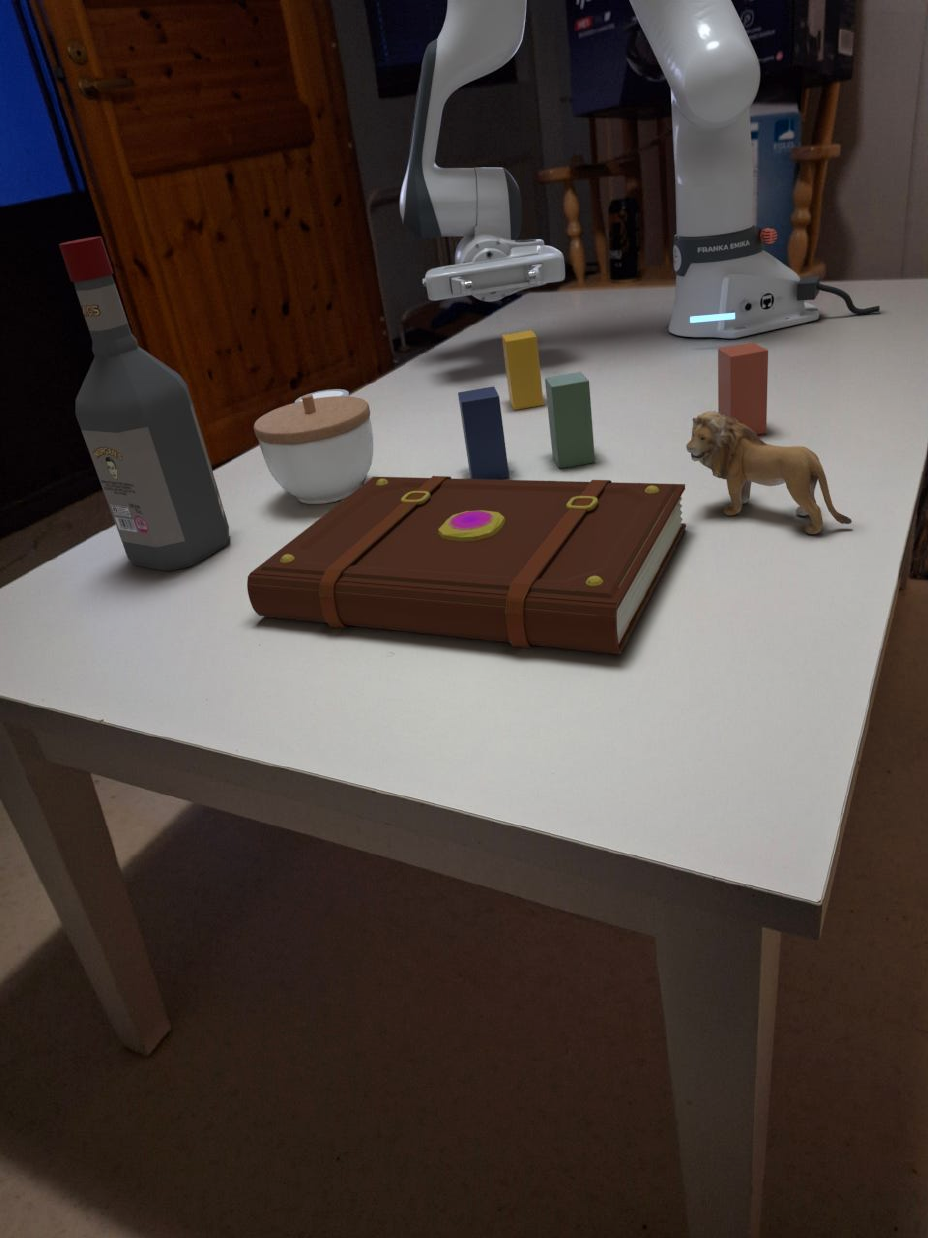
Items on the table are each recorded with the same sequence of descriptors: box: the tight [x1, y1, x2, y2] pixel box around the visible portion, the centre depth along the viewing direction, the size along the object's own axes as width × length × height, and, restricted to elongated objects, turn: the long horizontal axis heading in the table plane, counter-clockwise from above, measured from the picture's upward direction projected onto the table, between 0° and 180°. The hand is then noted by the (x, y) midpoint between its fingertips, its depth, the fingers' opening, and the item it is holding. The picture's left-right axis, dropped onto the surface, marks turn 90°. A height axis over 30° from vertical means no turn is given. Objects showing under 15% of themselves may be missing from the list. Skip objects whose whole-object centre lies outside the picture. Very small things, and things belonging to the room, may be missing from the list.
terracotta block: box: [717, 342, 769, 436], centre depth 97 cm, size 4×4×9 cm
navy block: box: [457, 386, 510, 480], centre depth 97 cm, size 4×4×9 cm
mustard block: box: [501, 329, 545, 411], centre depth 118 cm, size 4×4×9 cm
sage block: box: [544, 371, 596, 469], centre depth 97 cm, size 4×4×9 cm
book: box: [246, 475, 687, 655], centre depth 77 cm, size 23×32×5 cm
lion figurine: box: [685, 410, 853, 535], centre depth 78 cm, size 15×5×9 cm, turn 50°
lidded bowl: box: [253, 394, 375, 505], centre depth 99 cm, size 13×13×11 cm
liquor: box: [58, 236, 230, 572], centre depth 85 cm, size 9×9×30 cm
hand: (500, 283), depth 124 cm, fingers open, 8 cm apart
